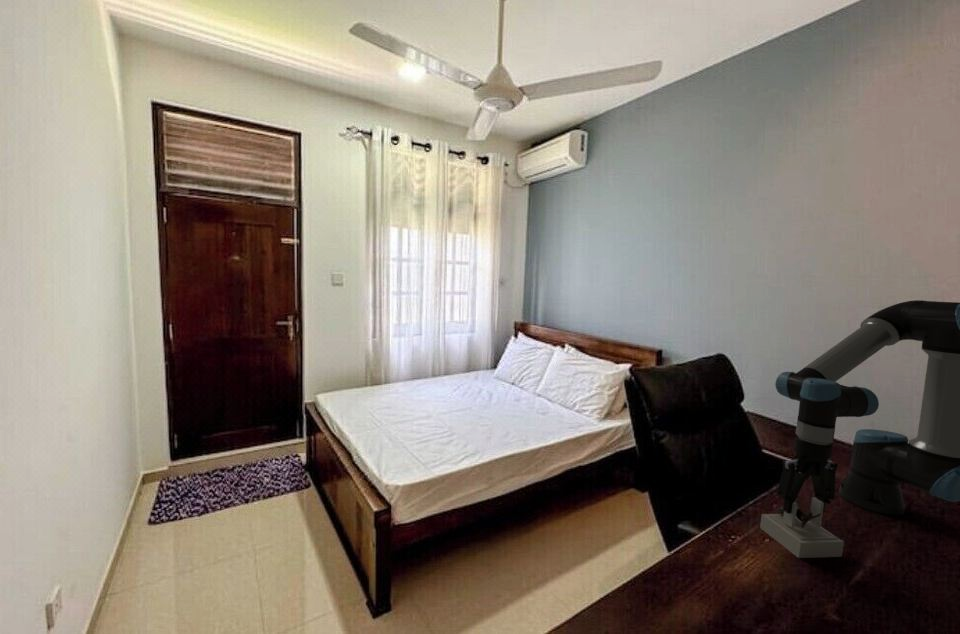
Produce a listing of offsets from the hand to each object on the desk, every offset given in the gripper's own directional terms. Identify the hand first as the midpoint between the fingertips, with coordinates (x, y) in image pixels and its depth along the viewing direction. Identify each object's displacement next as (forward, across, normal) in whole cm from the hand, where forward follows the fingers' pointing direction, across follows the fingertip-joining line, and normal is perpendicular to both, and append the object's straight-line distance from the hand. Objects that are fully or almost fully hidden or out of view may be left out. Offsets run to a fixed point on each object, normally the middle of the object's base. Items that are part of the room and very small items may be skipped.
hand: (801, 523), depth 106 cm
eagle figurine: (+1, -1, -3) cm, 3 cm away
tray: (+5, 0, 0) cm, 5 cm away
